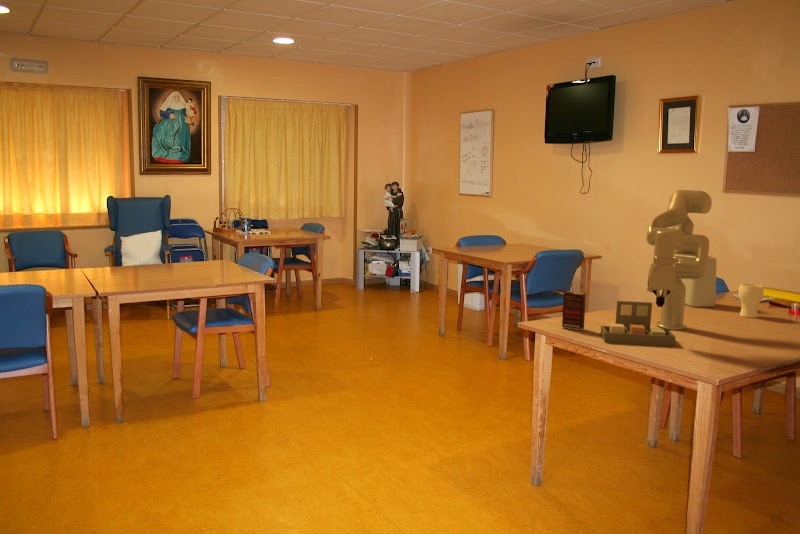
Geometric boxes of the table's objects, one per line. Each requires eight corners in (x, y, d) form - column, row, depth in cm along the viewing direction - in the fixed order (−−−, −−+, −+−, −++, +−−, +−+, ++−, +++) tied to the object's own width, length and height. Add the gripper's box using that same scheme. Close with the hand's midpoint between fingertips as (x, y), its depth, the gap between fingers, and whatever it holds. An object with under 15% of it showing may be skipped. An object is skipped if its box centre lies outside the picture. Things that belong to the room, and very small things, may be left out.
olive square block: (649, 336, 285) (650, 328, 284) (662, 337, 284) (662, 329, 284) (652, 340, 280) (652, 331, 279) (665, 340, 279) (665, 332, 279)
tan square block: (609, 331, 287) (610, 323, 286) (622, 332, 286) (622, 324, 286) (611, 334, 282) (611, 326, 282) (624, 335, 281) (624, 326, 281)
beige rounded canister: (719, 307, 355) (724, 252, 350) (693, 307, 351) (697, 252, 347) (699, 301, 369) (704, 248, 365) (674, 301, 366) (679, 249, 361)
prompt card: (614, 333, 295) (616, 300, 293) (648, 335, 293) (651, 302, 291) (615, 333, 294) (617, 301, 292) (649, 335, 292) (652, 303, 290)
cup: (766, 317, 332) (769, 286, 330) (749, 319, 328) (752, 287, 326) (747, 313, 342) (750, 282, 339) (731, 314, 338) (734, 283, 336)
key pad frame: (600, 335, 291) (601, 325, 291) (667, 338, 287) (668, 329, 287) (604, 342, 279) (605, 332, 279) (674, 346, 276) (675, 336, 275)
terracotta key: (629, 332, 286) (630, 324, 285) (642, 333, 285) (642, 325, 285) (631, 335, 281) (632, 327, 280) (644, 336, 280) (645, 328, 280)
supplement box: (584, 328, 301) (586, 292, 299) (580, 331, 297) (583, 294, 295) (564, 326, 306) (566, 290, 303) (561, 328, 302) (563, 292, 299)
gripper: (680, 260, 280) (676, 305, 283) (642, 259, 282) (638, 303, 285) (685, 263, 272) (681, 309, 275) (645, 262, 275) (642, 307, 278)
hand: (659, 306), depth 280 cm, fingers closed
